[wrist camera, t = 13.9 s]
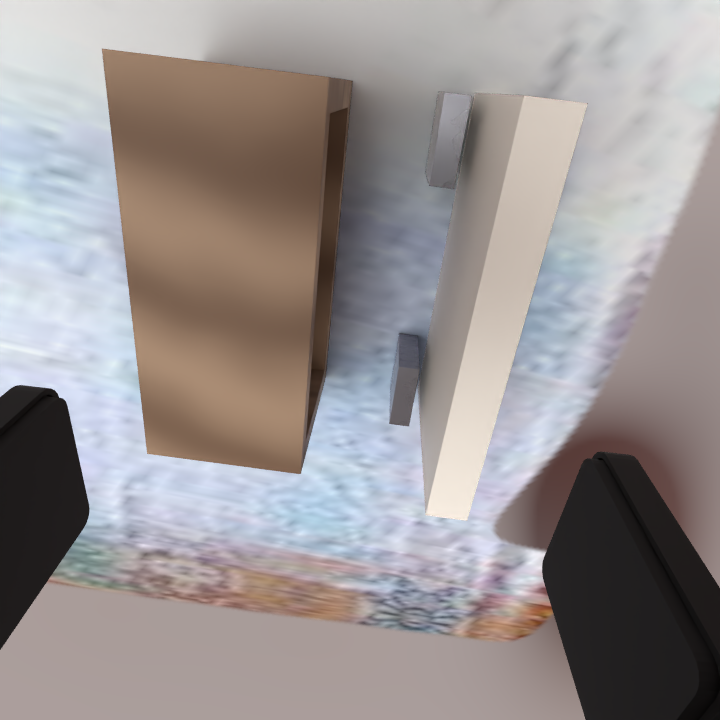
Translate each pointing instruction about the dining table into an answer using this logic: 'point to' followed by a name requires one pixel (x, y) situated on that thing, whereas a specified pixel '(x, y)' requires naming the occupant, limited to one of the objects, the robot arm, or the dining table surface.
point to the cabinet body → (228, 249)
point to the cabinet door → (488, 282)
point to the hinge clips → (439, 174)
